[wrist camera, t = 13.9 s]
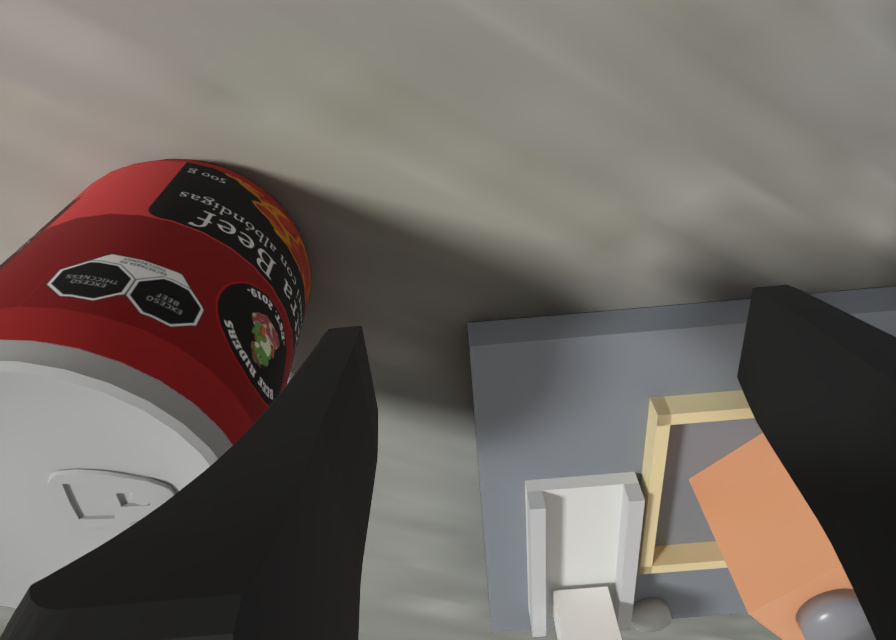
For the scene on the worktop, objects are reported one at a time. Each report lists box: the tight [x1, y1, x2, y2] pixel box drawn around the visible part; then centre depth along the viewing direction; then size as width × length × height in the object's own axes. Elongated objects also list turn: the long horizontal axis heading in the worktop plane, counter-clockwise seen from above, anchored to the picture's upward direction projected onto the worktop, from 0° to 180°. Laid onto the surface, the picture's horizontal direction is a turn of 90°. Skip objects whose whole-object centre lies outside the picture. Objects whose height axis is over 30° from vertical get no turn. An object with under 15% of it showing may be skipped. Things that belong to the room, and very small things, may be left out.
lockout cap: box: [688, 433, 876, 640], centre depth 25 cm, size 4×4×7 cm
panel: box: [467, 286, 896, 637], centre depth 28 cm, size 16×17×3 cm
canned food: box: [0, 159, 311, 608], centre depth 18 cm, size 8×8×11 cm
